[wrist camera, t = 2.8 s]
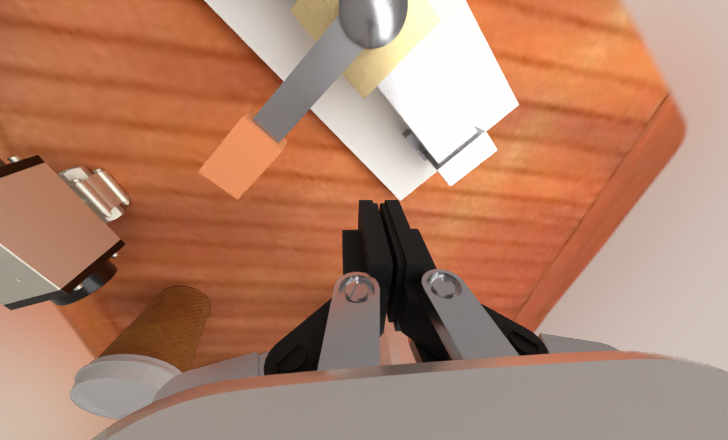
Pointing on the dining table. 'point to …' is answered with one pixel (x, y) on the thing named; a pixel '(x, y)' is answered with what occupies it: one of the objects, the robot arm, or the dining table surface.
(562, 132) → the dining table surface
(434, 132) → the valve stand
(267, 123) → the valve lever
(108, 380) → the disposable coffee cup
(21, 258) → the pneumatic valve
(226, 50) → the dining table surface
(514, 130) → the dining table surface
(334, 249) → the dining table surface
